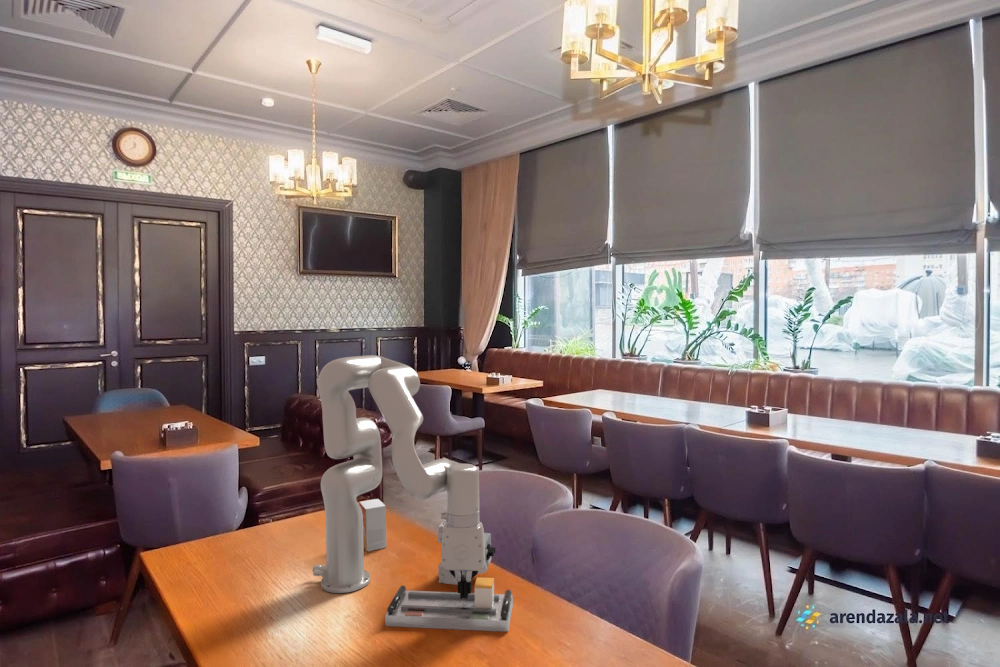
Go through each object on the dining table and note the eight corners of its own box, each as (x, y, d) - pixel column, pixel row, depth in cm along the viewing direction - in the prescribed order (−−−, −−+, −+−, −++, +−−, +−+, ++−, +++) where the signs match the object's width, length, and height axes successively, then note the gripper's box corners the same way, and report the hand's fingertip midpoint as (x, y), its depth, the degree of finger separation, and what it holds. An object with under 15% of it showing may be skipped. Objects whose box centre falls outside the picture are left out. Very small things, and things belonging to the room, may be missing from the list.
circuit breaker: (491, 587, 150) (490, 530, 149) (438, 582, 152) (437, 526, 152) (497, 574, 157) (496, 519, 156) (446, 570, 160) (446, 516, 159)
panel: (385, 626, 131) (385, 608, 131) (400, 600, 143) (399, 583, 143) (508, 631, 128) (507, 613, 128) (512, 604, 140) (512, 588, 140)
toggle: (474, 608, 133) (474, 585, 133) (477, 600, 137) (477, 577, 137) (492, 609, 133) (491, 585, 133) (494, 600, 137) (493, 577, 137)
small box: (359, 542, 180) (358, 501, 180) (379, 539, 183) (378, 498, 183) (366, 552, 173) (365, 508, 173) (387, 547, 176) (386, 505, 176)
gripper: (428, 523, 132) (429, 602, 132) (493, 525, 130) (494, 605, 131) (435, 512, 139) (436, 587, 140) (497, 513, 138) (498, 589, 138)
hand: (464, 595), depth 135 cm, fingers closed
